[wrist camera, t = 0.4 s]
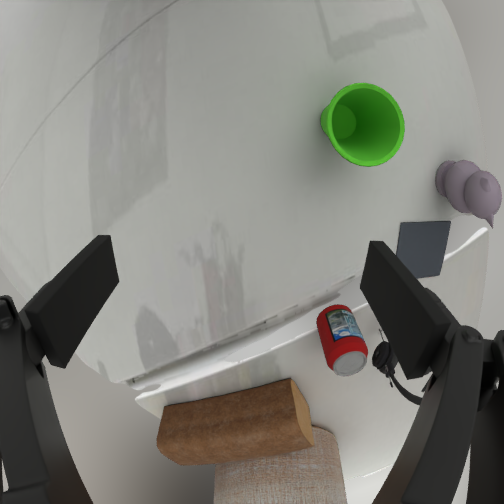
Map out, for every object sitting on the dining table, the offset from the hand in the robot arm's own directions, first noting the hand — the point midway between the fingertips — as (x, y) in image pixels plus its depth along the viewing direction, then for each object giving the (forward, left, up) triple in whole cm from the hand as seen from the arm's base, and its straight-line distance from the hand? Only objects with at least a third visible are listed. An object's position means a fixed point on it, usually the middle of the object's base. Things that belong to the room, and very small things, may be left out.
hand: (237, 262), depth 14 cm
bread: (+55, -8, -28) cm, 62 cm away
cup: (-6, +13, -28) cm, 31 cm away
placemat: (+15, +30, -27) cm, 43 cm away
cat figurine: (+2, +34, -28) cm, 43 cm away
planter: (+80, +3, -28) cm, 85 cm away
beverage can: (+27, +14, -28) cm, 41 cm away
